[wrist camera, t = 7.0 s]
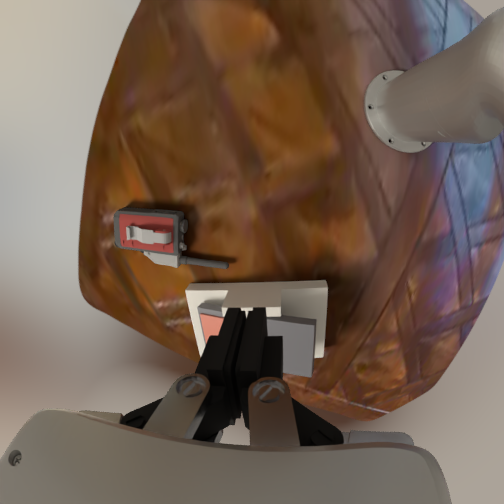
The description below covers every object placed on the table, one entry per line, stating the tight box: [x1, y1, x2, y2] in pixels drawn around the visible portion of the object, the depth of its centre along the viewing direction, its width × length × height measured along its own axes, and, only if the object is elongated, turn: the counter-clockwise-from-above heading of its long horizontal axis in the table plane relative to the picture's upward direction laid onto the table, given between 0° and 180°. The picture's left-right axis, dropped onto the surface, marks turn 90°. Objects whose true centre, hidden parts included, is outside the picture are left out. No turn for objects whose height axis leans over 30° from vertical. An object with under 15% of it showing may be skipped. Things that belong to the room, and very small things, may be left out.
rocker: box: [197, 303, 317, 377], centre depth 41 cm, size 18×10×2 cm, turn 92°
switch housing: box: [185, 280, 328, 358], centre depth 43 cm, size 22×14×8 cm, turn 94°
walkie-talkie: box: [114, 207, 229, 269], centre depth 41 cm, size 9×4×20 cm
